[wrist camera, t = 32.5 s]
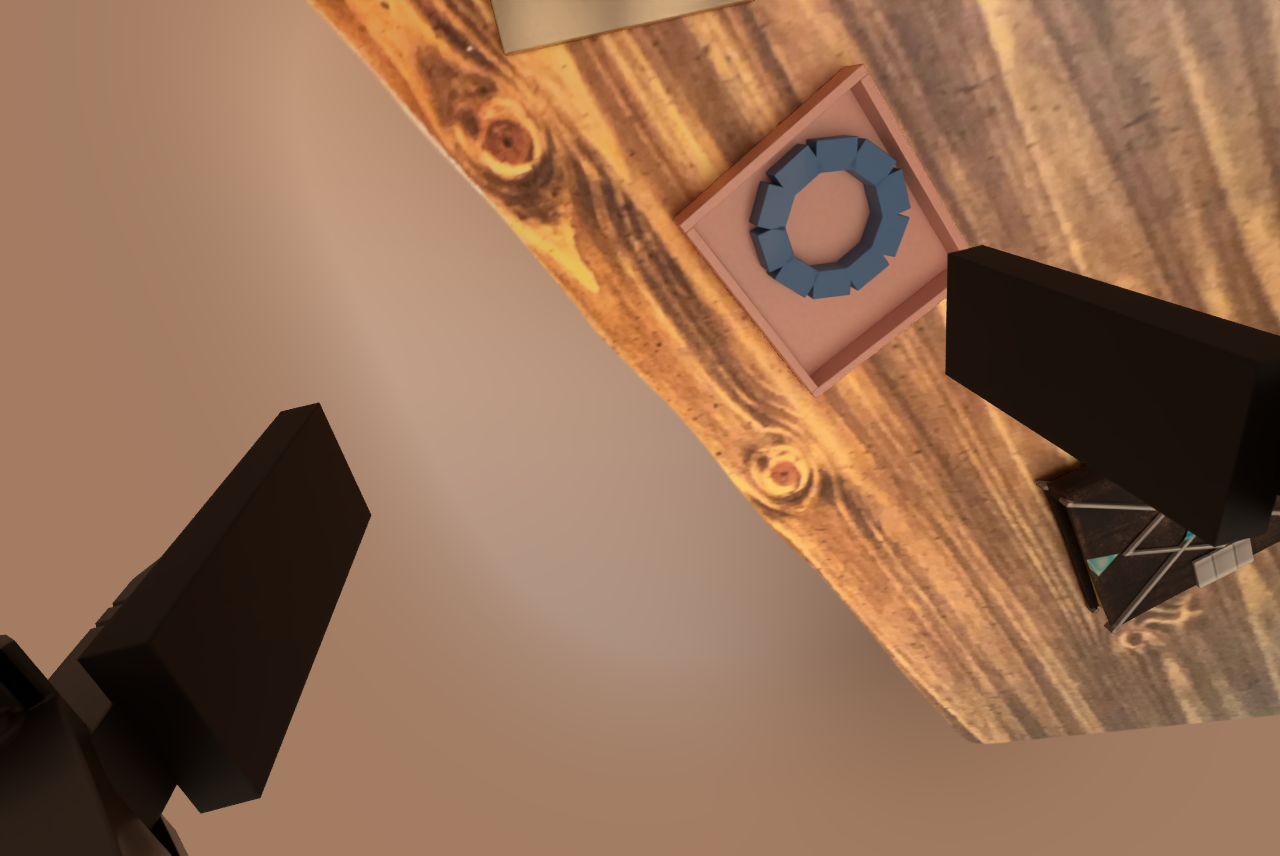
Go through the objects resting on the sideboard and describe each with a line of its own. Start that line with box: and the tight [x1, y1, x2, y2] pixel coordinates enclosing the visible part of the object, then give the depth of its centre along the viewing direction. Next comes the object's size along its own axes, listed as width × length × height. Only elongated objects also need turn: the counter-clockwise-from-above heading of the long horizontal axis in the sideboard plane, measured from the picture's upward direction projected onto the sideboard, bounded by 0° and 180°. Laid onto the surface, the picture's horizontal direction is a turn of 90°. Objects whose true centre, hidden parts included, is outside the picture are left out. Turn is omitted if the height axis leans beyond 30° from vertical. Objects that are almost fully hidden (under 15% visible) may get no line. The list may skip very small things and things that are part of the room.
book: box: [1036, 465, 1280, 634], centre depth 54 cm, size 22×17×5 cm
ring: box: [749, 135, 911, 299], centre depth 41 cm, size 9×10×2 cm
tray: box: [673, 64, 969, 398], centre depth 42 cm, size 15×13×2 cm
